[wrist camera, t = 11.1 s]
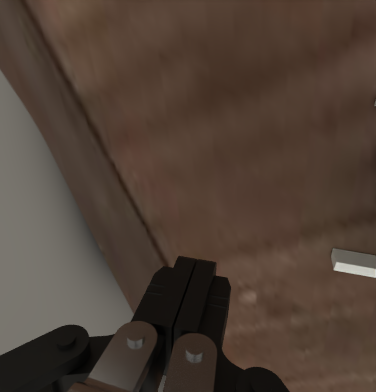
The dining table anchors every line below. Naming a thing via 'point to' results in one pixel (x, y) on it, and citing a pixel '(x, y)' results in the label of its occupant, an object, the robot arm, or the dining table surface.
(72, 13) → the dining table surface
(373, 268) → the frame
